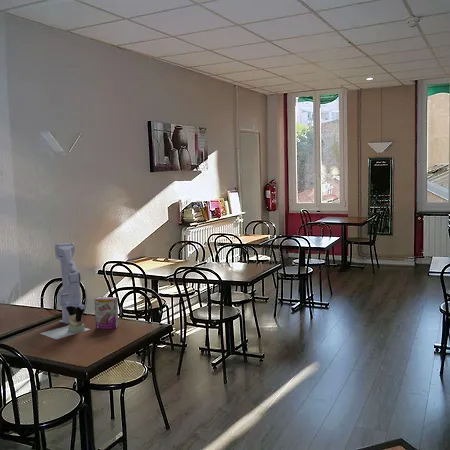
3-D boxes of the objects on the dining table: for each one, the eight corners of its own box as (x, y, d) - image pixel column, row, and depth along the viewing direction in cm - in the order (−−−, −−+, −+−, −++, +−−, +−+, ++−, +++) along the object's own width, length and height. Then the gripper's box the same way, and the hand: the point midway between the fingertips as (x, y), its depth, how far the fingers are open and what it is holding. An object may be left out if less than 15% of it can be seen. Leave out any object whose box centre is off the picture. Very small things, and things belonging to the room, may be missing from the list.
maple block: (77, 322, 278) (76, 313, 278) (82, 324, 275) (81, 314, 275) (69, 324, 275) (69, 315, 274) (74, 326, 272) (74, 316, 271)
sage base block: (78, 327, 280) (77, 322, 279) (84, 329, 276) (84, 324, 275) (68, 330, 275) (67, 325, 275) (74, 332, 271) (74, 327, 271)
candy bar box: (95, 329, 278) (93, 299, 276) (98, 326, 282) (97, 296, 281) (116, 329, 276) (114, 299, 275) (119, 326, 281) (117, 296, 280)
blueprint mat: (73, 324, 287) (73, 324, 287) (90, 330, 277) (90, 329, 277) (39, 334, 272) (39, 333, 272) (56, 340, 262) (56, 339, 262)
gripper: (59, 294, 275) (61, 320, 277) (75, 298, 266) (77, 324, 267) (71, 292, 280) (73, 316, 282) (87, 295, 271) (89, 321, 272)
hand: (75, 320), depth 275 cm, fingers open, 5 cm apart
